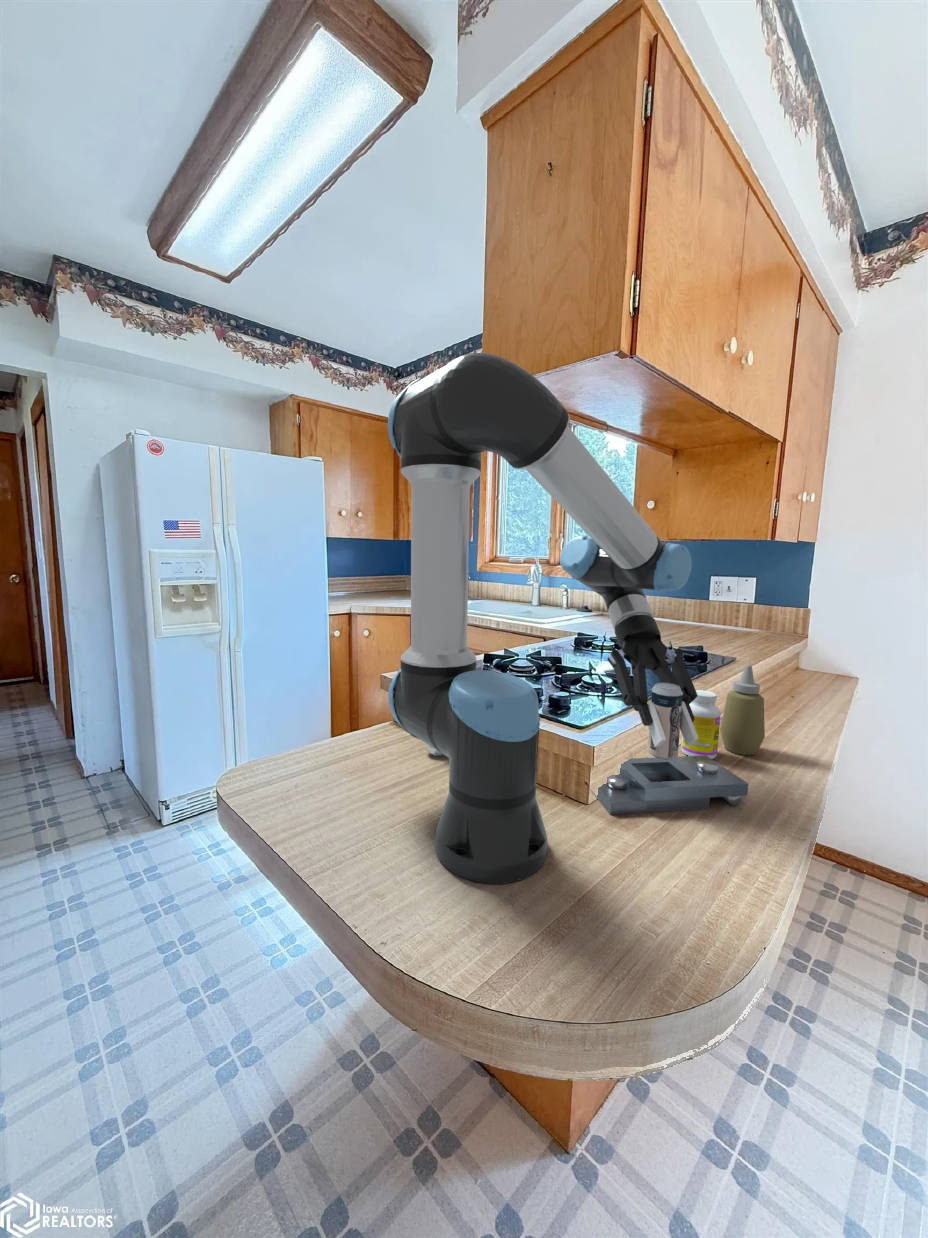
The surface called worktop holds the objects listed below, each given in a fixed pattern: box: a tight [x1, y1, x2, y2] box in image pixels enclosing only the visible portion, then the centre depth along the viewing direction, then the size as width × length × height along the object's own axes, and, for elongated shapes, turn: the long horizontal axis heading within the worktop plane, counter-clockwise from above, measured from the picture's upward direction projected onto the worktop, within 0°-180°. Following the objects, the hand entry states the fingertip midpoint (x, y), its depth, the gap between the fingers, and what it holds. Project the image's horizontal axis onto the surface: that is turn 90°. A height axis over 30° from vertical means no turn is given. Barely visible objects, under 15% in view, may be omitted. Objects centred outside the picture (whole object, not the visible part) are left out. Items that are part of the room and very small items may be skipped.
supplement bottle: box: [680, 689, 722, 760], centre depth 98 cm, size 7×7×13 cm
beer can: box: [647, 682, 683, 760], centre depth 80 cm, size 5×5×12 cm
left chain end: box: [596, 773, 711, 815], centre depth 81 cm, size 16×11×3 cm, turn 97°
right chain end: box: [619, 755, 749, 807], centre depth 82 cm, size 18×11×5 cm, turn 97°
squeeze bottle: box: [719, 665, 766, 756], centre depth 100 cm, size 8×8×18 cm
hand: (676, 742), depth 77 cm, fingers closed on beer can, 5 cm apart
